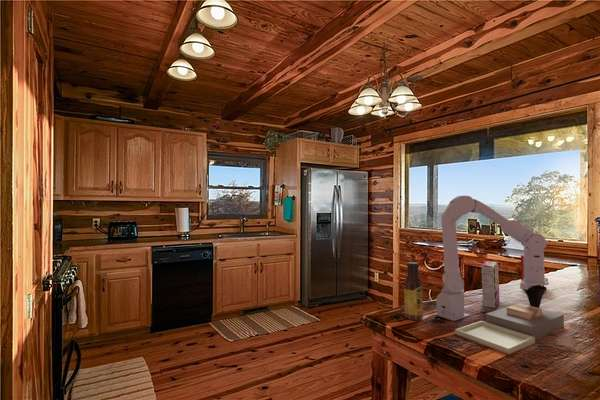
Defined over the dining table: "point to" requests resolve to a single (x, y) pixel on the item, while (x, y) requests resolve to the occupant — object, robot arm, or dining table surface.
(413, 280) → the sauce bottle
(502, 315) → the grey flat block
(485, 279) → the candy bar box
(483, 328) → the tray
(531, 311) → the tile
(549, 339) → the dining table surface
